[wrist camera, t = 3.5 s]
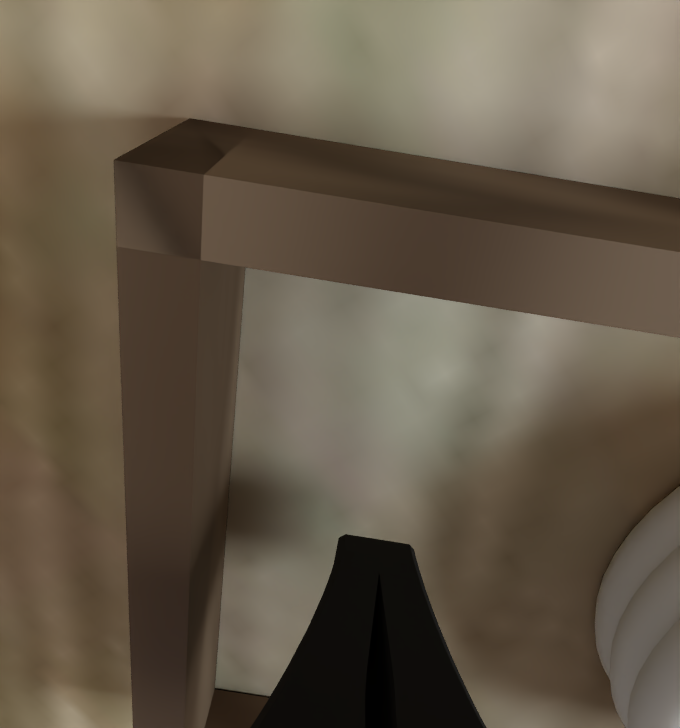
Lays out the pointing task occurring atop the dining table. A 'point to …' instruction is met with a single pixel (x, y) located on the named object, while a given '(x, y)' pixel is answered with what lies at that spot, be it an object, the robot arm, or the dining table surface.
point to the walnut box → (326, 262)
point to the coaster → (644, 620)
